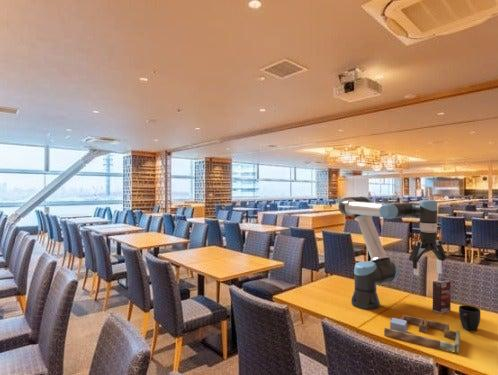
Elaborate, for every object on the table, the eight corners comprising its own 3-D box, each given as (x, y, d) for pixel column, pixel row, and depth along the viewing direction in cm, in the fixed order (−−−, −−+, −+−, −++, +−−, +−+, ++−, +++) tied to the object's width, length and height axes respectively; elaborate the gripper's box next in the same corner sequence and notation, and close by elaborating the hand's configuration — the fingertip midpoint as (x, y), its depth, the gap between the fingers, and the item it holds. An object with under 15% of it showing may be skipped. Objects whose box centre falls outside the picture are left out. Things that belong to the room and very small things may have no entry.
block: (390, 333, 146) (390, 322, 146) (393, 328, 151) (392, 317, 151) (404, 336, 142) (404, 325, 142) (407, 331, 147) (407, 320, 147)
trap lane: (384, 335, 143) (384, 327, 143) (394, 318, 161) (394, 311, 161) (458, 353, 127) (458, 344, 127) (460, 333, 145) (460, 325, 144)
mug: (453, 331, 147) (453, 310, 147) (462, 323, 155) (462, 303, 155) (475, 337, 141) (474, 315, 141) (482, 329, 148) (482, 308, 148)
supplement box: (441, 314, 166) (440, 283, 166) (432, 310, 170) (431, 281, 170) (451, 311, 170) (451, 281, 170) (442, 308, 174) (442, 278, 174)
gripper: (412, 233, 151) (412, 278, 152) (455, 231, 157) (454, 274, 158) (401, 231, 158) (400, 273, 159) (442, 229, 165) (442, 270, 165)
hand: (427, 274), depth 158 cm, fingers open, 13 cm apart
